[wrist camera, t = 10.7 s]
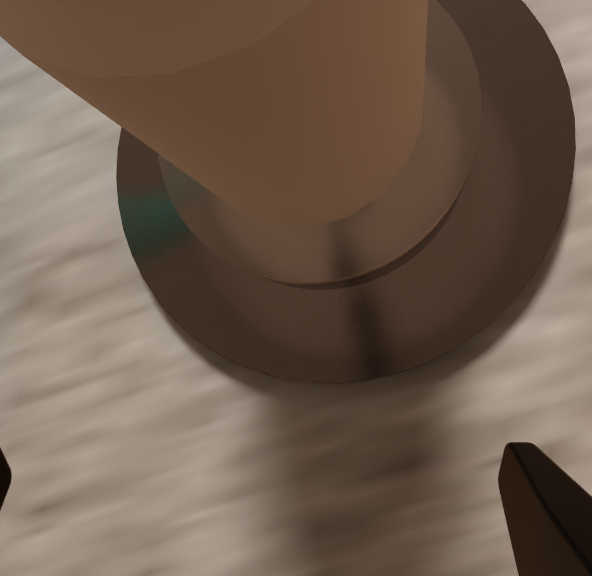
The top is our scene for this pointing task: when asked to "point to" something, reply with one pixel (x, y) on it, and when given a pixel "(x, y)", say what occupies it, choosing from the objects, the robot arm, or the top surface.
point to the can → (247, 90)
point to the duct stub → (378, 221)
